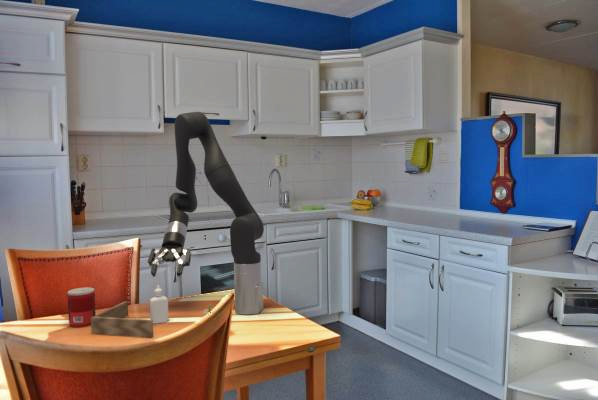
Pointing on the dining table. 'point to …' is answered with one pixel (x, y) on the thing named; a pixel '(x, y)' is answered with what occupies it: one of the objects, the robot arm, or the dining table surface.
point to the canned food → (81, 306)
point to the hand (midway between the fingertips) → (165, 275)
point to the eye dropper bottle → (159, 307)
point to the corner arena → (120, 323)
